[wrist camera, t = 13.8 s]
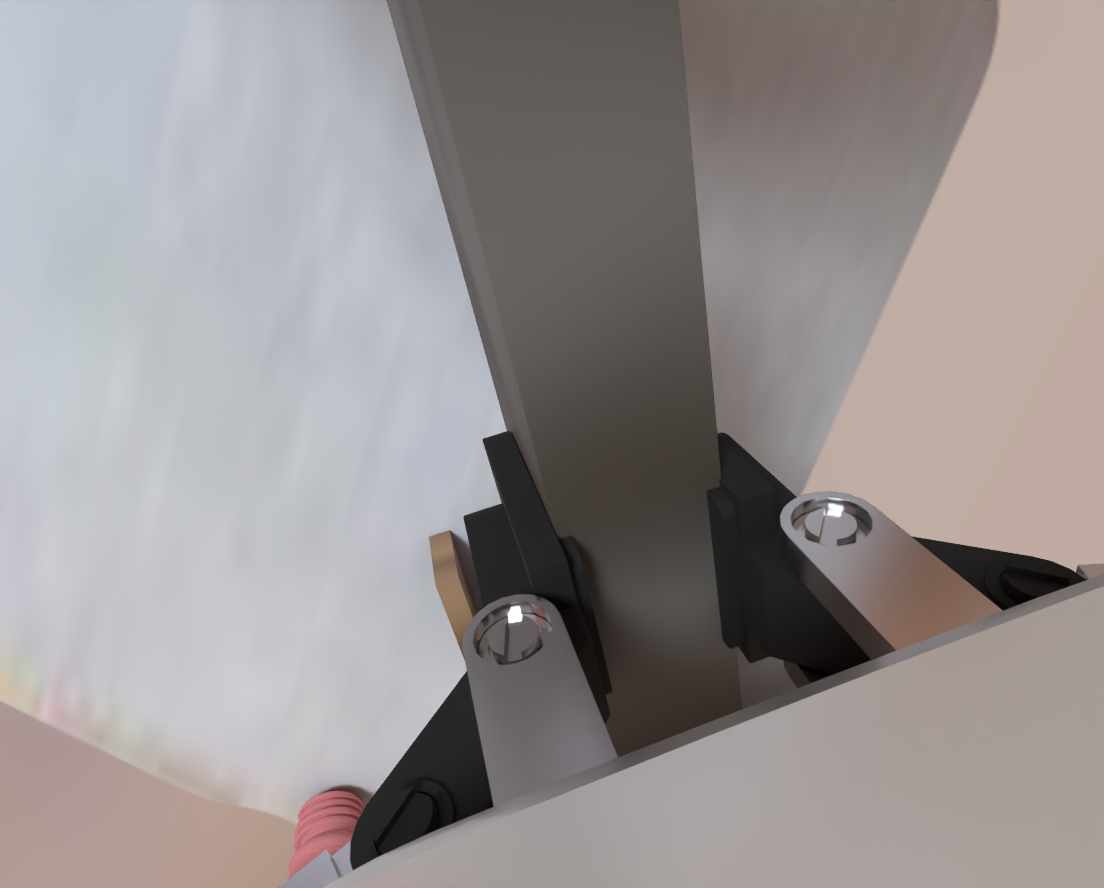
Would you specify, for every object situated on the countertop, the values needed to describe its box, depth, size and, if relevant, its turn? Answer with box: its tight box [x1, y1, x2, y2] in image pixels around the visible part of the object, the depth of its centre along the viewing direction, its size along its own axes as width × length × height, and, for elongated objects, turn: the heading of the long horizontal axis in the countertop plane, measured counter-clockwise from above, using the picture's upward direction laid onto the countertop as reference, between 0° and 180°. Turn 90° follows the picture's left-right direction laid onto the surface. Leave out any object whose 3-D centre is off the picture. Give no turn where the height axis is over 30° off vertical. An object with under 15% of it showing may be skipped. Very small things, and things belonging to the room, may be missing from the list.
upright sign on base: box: [387, 0, 797, 757], centre depth 10 cm, size 14×7×5 cm, turn 12°
